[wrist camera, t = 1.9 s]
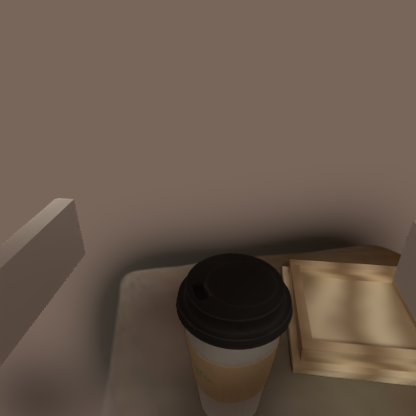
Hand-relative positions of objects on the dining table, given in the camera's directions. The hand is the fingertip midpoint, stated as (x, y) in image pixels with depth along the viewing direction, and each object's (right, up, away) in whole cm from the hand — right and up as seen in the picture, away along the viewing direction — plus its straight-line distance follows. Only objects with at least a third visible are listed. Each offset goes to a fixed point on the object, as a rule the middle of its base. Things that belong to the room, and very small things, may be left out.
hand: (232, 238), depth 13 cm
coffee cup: (+1, -18, +21) cm, 27 cm away
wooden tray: (+18, -13, +29) cm, 36 cm away
